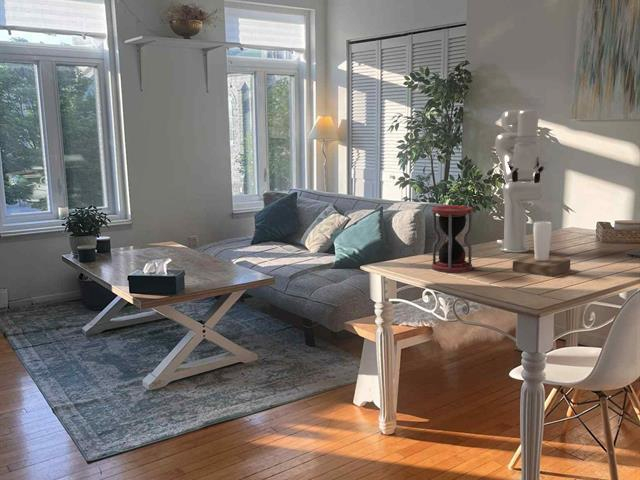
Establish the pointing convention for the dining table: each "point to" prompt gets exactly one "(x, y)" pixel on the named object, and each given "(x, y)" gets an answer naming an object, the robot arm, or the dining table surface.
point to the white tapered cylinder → (542, 240)
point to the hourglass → (452, 238)
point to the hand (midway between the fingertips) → (525, 182)
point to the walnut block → (541, 266)
